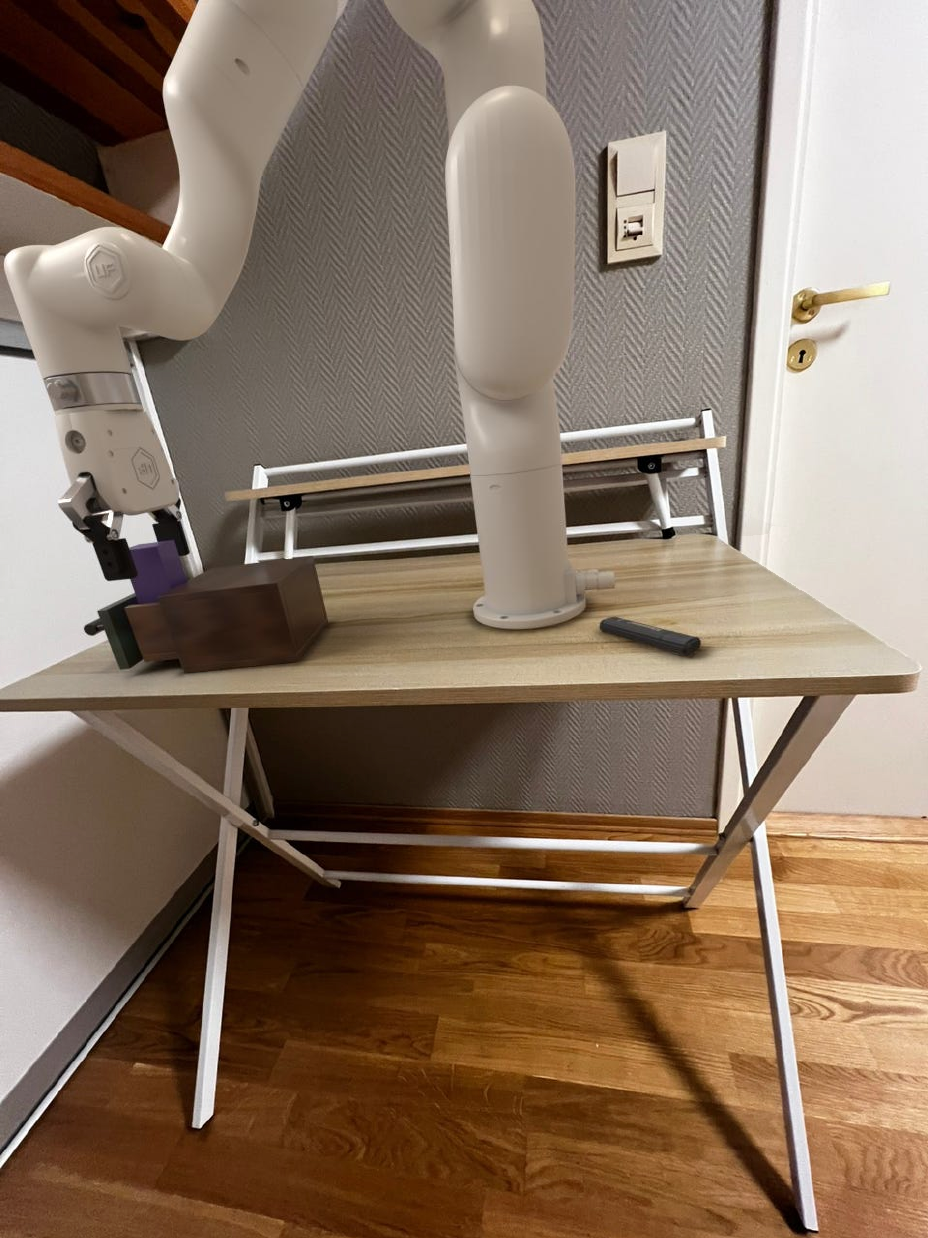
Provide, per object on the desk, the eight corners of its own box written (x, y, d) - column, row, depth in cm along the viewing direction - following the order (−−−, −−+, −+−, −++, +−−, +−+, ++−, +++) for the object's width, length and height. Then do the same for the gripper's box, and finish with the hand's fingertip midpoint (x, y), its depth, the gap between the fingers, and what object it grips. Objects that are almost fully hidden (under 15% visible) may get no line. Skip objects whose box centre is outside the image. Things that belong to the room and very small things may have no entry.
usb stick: (704, 650, 45) (705, 633, 45) (686, 661, 44) (686, 644, 44) (615, 626, 53) (614, 612, 52) (597, 635, 52) (596, 620, 51)
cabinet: (183, 673, 57) (157, 596, 54) (232, 634, 67) (211, 567, 64) (297, 661, 55) (276, 582, 52) (329, 623, 66) (313, 555, 63)
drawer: (86, 673, 58) (62, 614, 56) (142, 638, 67) (123, 587, 65) (220, 659, 56) (201, 598, 54) (259, 625, 66) (244, 572, 63)
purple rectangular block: (203, 631, 63) (174, 539, 59) (188, 642, 60) (156, 546, 56) (170, 635, 63) (138, 544, 59) (153, 646, 60) (119, 550, 56)
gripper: (65, 389, 44) (133, 586, 50) (180, 397, 60) (222, 545, 66) (-17, 400, 45) (59, 594, 51) (119, 405, 61) (165, 552, 67)
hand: (151, 566), depth 59 cm, fingers open, 9 cm apart
